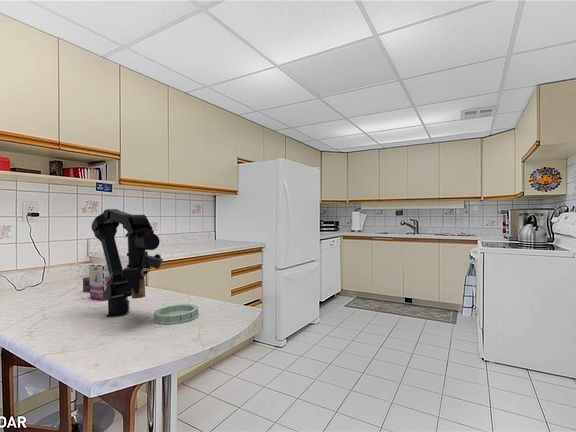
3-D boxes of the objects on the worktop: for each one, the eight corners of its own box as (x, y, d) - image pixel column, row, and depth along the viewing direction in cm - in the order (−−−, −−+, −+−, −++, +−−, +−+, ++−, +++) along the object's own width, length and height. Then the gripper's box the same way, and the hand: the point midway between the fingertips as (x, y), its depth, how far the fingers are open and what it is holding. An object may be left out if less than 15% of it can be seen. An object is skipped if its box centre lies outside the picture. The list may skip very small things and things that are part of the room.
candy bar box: (114, 298, 149) (113, 263, 149) (104, 301, 145) (102, 265, 145) (99, 296, 155) (98, 262, 155) (89, 299, 150) (88, 264, 150)
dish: (151, 326, 108) (150, 318, 108) (158, 313, 122) (158, 306, 122) (197, 321, 111) (196, 313, 111) (198, 309, 126) (198, 302, 126)
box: (82, 292, 166) (82, 278, 166) (92, 289, 171) (92, 276, 172) (91, 292, 164) (91, 278, 164) (101, 290, 170) (101, 276, 170)
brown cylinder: (130, 298, 112) (129, 281, 112) (133, 296, 116) (132, 279, 116) (143, 297, 113) (143, 280, 113) (146, 294, 117) (145, 278, 117)
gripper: (156, 250, 108) (157, 296, 107) (164, 246, 126) (165, 285, 126) (120, 252, 105) (121, 299, 105) (133, 247, 123) (135, 287, 123)
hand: (138, 292), depth 115 cm, fingers closed on brown cylinder, 4 cm apart
